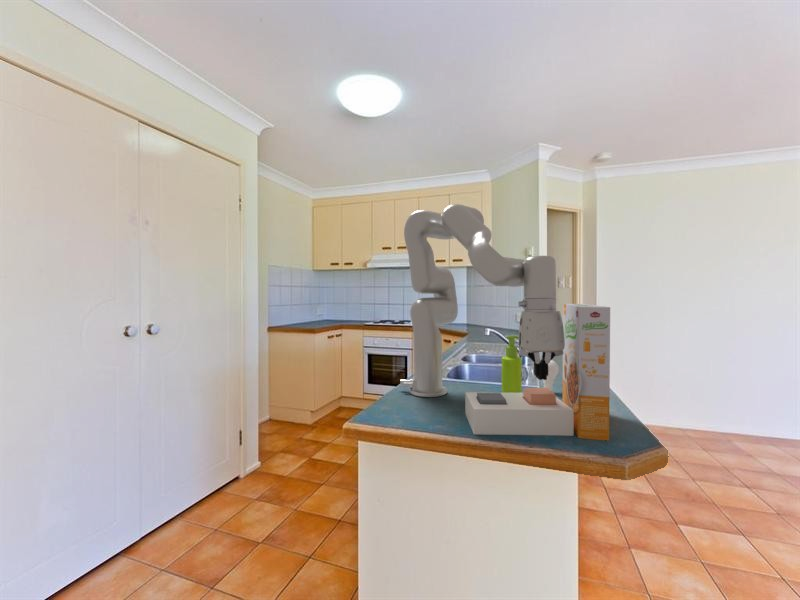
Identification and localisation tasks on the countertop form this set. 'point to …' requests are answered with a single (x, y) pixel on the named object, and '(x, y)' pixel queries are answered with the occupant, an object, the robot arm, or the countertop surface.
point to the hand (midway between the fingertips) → (541, 378)
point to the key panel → (518, 417)
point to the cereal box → (587, 368)
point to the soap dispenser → (511, 369)
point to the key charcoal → (491, 398)
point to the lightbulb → (551, 375)
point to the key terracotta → (539, 396)
